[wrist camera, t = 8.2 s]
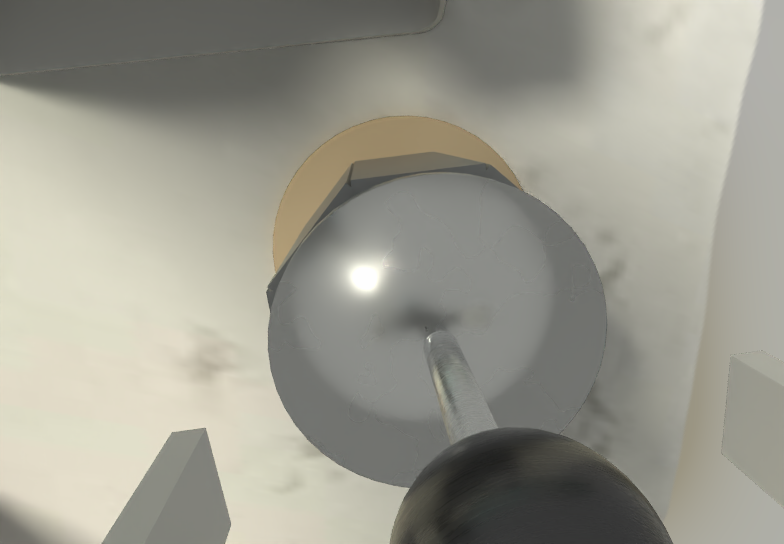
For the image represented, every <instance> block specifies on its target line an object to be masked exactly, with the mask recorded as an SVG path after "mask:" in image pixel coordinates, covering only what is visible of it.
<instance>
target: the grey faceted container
mask: <svg viewBox="0 0 784 544" xmlns="http://www.w3.org/2000/svg"><path fill="white" fill-rule="evenodd" d="M433 172H453V173H466V174H471V175H476V176H481V177H485V178H490V179H493V180H496V181H498V182H501V183H504V184H507V185H509V186H512V187H515V188H517V189H520V190H521V191H522V188H521V186H520V185H519V183H518V181H517V179H516V177H515V176H514V174H513V172H512V171H511V170H510V168H509V167H508V166H507V164H506V163H505V162H504V160H503V159H502V158H501V157H500V156H499V155H498V154H497V153H496V152H495V151H494V150H493V149H492V148H491V147H490V146H488V145H487V144H486V143H484V142H483V141H482V140H480V139H479V138H478V137H476V136H475V135H473V134H471V133H469V132H467V131H466V130H464V129H462V128H460V127H457V126H455V125H452V124H449V123H447V122H444V121H440V120H436V119H431V118H427V117H417V116H394V117H386V118H380V119H375V120H371V121H368V122H365V123H362V124H359V125H356V126H353V127H351V128H349V129H347V130H345V131H343V132H341V133H339V134H337V135H336V136H334V137H333V138H332V139H330V140H329V141H327V142H326V143H324V144H323V145H322V146H321V147H319V148H318V149H317V150H316V151H315V152H314V153H313V154H312V155H311V156H310V157H309V158H308V159H307V160H306V161H305V162H304V164H303V165H302V166H301V167H300V168H299V170H298V171H297V172H296V174H295V175H294V177H293V179H292V180H291V182H290V183H289V185H288V187H287V189H286V191H285V194H284V196H283V198H282V200H281V203H280V206H279V209H278V213H277V216H276V220H275V227H274V234H273V257H274V265H275V271H276V274H275V275H274V277H273V279H272V280H271V282H270V284H269V285H268V290H267V292H266V293H267V298H268V303H269V308H270V313H271V307H272V304H273V301H274V297H275V294H276V291H277V287H278V285H279V283H280V280H281V278H282V276H283V274H284V272H285V270H286V268H287V266H288V264H289V262H290V260H291V258H292V257H293V255H294V254H295V252H296V251H297V249H298V248H299V246H300V245H301V243H302V242H303V240H304V239H305V238H306V237H307V236H308V234H309V233H310V232H311V231H312V230H313V229H314V227H315V226H316V225H317V224H318V223H319V222H320V221H321V220H322V219H324V218H325V217H326V216H327V215H328V214H329V213H330V212H332V211H333V210H334V209H335V208H336V207H338V206H339V205H341V204H342V203H344V202H345V201H347V200H348V199H350V198H351V197H353V196H354V195H356V194H358V193H360V192H363V191H365V190H367V189H369V188H371V187H373V186H375V185H377V184H380V183H383V182H386V181H389V180H392V179H395V178H399V177H404V176H409V175H414V174H419V173H433Z"/></svg>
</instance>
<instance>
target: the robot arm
mask: <svg viewBox="0 0 784 544" xmlns="http://www.w3.org/2000/svg"><path fill="white" fill-rule="evenodd" d="M722 454H723V455H724V456H725V457H726V458H727V459H728V460H730V461H731V462H732V463H733V464H734V465H735V466H736V467H738V468H739V469H740V470H741V471H742V472H743V473H744V474H745V475H747V476H748V477H749V478H750V479H751V480H752V481H753V482H755V483H756V484H757V485H758V486H759V487H760V488H761V489H762V490H764V491H765V492H766V493H767V494H768V495H769V496H770V497H771V498H773V499H774V500H775V501H776V502H777V503H778V504H779V505H781V506H782V507H783V508H784V362H782V361H781V360H779V359H777V358H775V357H773V356H771V355H769V354H767V353H766V352H764V351H756V352H749V353H741V354H734V355H731V358H730V369H729V379H728V390H727V400H726V410H725V420H724V431H723V441H722ZM230 527H231V521H230V518H229V514H228V510H227V506H226V503H225V499H224V495H223V491H222V487H221V484H220V480H219V476H218V472H217V469H216V465H215V461H214V457H213V454H212V450H211V446H210V442H209V439H208V435H207V431H206V428H201V429H194V430H187V431H179V432H172V433H171V435H170V437H169V438H168V440H167V441H166V443H165V444H164V446H163V448H162V449H161V451H160V452H159V454H158V455H157V457H156V459H155V460H154V462H153V463H152V465H151V467H150V468H149V470H148V471H147V473H146V474H145V476H144V478H143V479H142V481H141V482H140V484H139V485H138V487H137V489H136V490H135V492H134V493H133V495H132V496H131V498H130V500H129V501H128V503H127V504H126V506H125V507H124V509H123V511H122V512H121V514H120V515H119V517H118V519H117V520H116V522H115V523H114V525H113V526H112V528H111V530H110V531H109V533H108V534H107V536H106V537H105V539H104V541H103V542H102V544H225V542H226V539H227V536H228V533H229V530H230Z"/></svg>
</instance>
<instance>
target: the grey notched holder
mask: <svg viewBox="0 0 784 544" xmlns="http://www.w3.org/2000/svg"><path fill="white" fill-rule="evenodd" d="M446 1H447V0H0V76H7V75H16V74H26V73H36V72H45V71H55V70H65V69H75V68H84V67H94V66H104V65H114V64H123V63H133V62H143V61H152V60H162V59H172V58H182V57H191V56H201V55H211V54H221V53H230V52H240V51H250V50H260V49H269V48H279V47H289V46H298V45H308V44H318V43H328V42H337V41H347V40H357V39H367V38H376V37H386V36H396V35H406V34H415V33H423V32H426V31H428V30H430V29H432V28H433V27H435V26H436V25H437V24H438V23H439V22H440V21H441V19H442V17H443V15H444V10H445V5H446Z"/></svg>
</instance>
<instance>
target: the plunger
mask: <svg viewBox="0 0 784 544" xmlns="http://www.w3.org/2000/svg"><path fill="white" fill-rule="evenodd" d="M606 331H607V315H606V302H605V297H604V292H603V287H602V283H601V280H600V277H599V275H598V272H597V269H596V266H595V264H594V262H593V260H592V258H591V256H590V254H589V253H588V251H587V249H586V247H585V245H584V244H583V243H582V241H581V240H580V239H579V237H578V236H577V235H576V233H575V232H574V231H573V229H572V228H571V227H570V226H569V225H568V224H567V223H566V222H565V221H564V220H563V219H562V218H561V217H560V216H559V215H558V214H557V213H556V212H554V211H553V210H552V209H550V208H549V207H548V206H546V205H545V204H544V203H542V202H541V201H540V200H538V199H536V198H534V197H533V196H531V195H529V194H527V193H525V192H523V191H521V190H520V189H517V188H515V187H512V186H509V185H507V184H504V183H501V182H498V181H496V180H493V179H490V178H485V177H481V176H476V175H471V174H466V173H453V172H433V173H419V174H414V175H409V176H404V177H399V178H395V179H392V180H389V181H386V182H383V183H380V184H377V185H375V186H373V187H371V188H369V189H367V190H365V191H363V192H360V193H358V194H356V195H354V196H353V197H351V198H350V199H348V200H347V201H345V202H344V203H342V204H341V205H339V206H338V207H336V208H335V209H334V210H333V211H332V212H330V213H329V214H328V215H327V216H326V217H325V218H324V219H322V220H321V221H320V222H319V223H318V224H317V225H316V226H315V227H314V229H313V230H312V231H311V232H310V233H309V234H308V236H307V237H306V238H305V239H304V240H303V242H302V243H301V245H300V246H299V248H298V249H297V251H296V252H295V254H294V255H293V257H292V258H291V260H290V262H289V264H288V266H287V268H286V270H285V272H284V274H283V276H282V278H281V280H280V283H279V285H278V287H277V291H276V294H275V297H274V301H273V304H272V307H271V314H270V320H269V327H268V353H269V360H270V367H271V372H272V376H273V379H274V383H275V386H276V390H277V392H278V394H279V396H280V399H281V401H282V403H283V405H284V407H285V409H286V411H287V412H288V414H289V415H290V417H291V419H292V420H293V422H294V423H295V425H296V426H297V427H298V428H299V430H300V431H301V432H302V433H303V434H304V436H305V437H306V438H307V439H308V440H309V441H310V442H311V443H312V444H313V445H314V446H315V447H316V448H318V449H319V450H320V451H321V452H322V453H323V454H325V455H326V456H327V457H329V458H330V459H332V460H333V461H335V462H336V463H337V464H339V465H341V466H343V467H345V468H346V469H348V470H350V471H352V472H354V473H356V474H358V475H361V476H364V477H366V478H369V479H371V480H374V481H378V482H382V483H386V484H390V485H394V486H400V487H408V488H410V489H409V491H408V492H407V494H406V496H405V497H404V499H403V502H402V504H401V506H400V509H399V511H398V514H397V517H396V520H395V522H394V526H393V530H392V534H391V539H390V544H673V543H672V541H671V538H670V536H669V534H668V532H667V530H666V528H665V526H664V525H663V523H662V521H661V520H660V518H659V516H658V515H657V513H656V512H655V510H654V509H653V507H652V506H651V504H650V503H649V501H648V500H647V499H646V498H645V496H644V495H643V494H642V493H641V492H640V491H639V489H638V488H637V487H636V486H635V485H634V484H633V483H632V482H631V481H630V479H629V478H628V477H627V476H626V475H625V474H623V473H622V472H621V471H620V470H619V469H617V468H616V467H615V466H614V465H613V464H611V463H610V462H609V461H608V460H607V459H605V458H604V457H603V456H601V455H600V454H598V453H596V452H595V451H593V450H591V449H590V448H588V447H586V446H584V445H583V444H581V443H579V442H577V441H574V440H572V439H570V438H568V437H565V436H562V435H559V434H560V433H561V432H562V431H563V430H564V428H565V427H566V426H567V425H568V424H569V423H570V421H571V420H572V419H573V418H574V417H575V415H576V414H577V412H578V411H579V409H580V408H581V406H582V405H583V403H584V402H585V400H586V398H587V396H588V394H589V392H590V390H591V388H592V386H593V384H594V382H595V379H596V377H597V374H598V371H599V368H600V366H601V362H602V358H603V353H604V348H605V343H606Z"/></svg>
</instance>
